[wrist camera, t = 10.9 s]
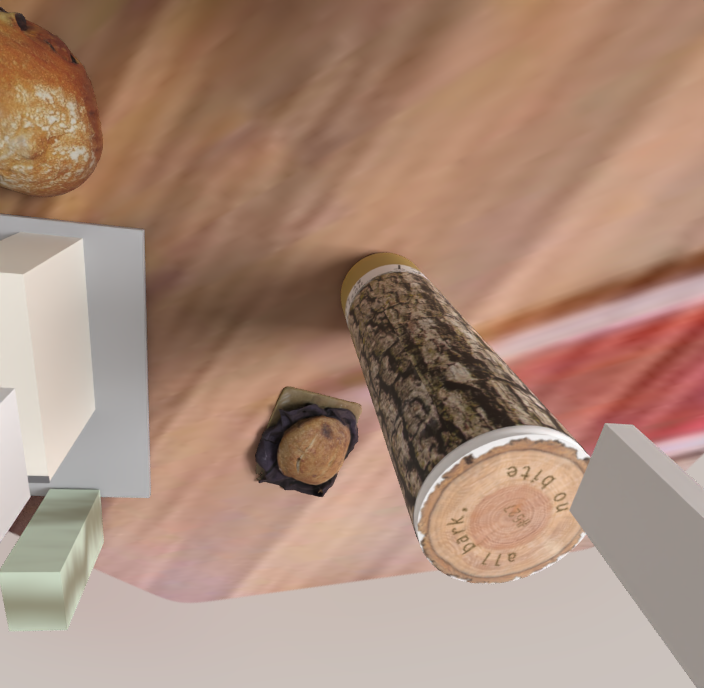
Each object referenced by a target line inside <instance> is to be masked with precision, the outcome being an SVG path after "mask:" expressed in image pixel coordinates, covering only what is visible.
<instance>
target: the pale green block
mask: <svg viewBox="0 0 704 688" xmlns="http://www.w3.org/2000/svg"><path fill="white" fill-rule="evenodd" d="M103 543H104V537H103V524H102V510H101V497H100V490H79V489H50V490H49V491H48V493H47V494H46V496H45V498H44V499H43V501H42V502H41V504H40V506H39V507H38V509H37V511H36V512H35V514H34V515H33V517H32V519H31V520H30V522H29V523H28V525H27V527H26V528H25V530H24V531H23V533H22V535H21V536H20V538H19V540H18V541H17V543H16V544H15V546H14V548H13V549H12V551H11V553H10V554H9V556H8V557H7V559H6V560H5V562H4V564H3V565H2V567H1V569H0V585H1V591H2V596H3V601H4V606H5V612H6V617H7V622H8V627H9V631H43V630H67V629H68V627H69V625H70V622H71V620H72V617H73V615H74V613H75V610H76V608H77V605H78V603H79V600H80V598H81V596H82V593H83V591H84V589H85V586H86V584H87V581H88V579H89V576H90V574H91V572H92V569H93V567H94V565H95V562H96V560H97V557H98V555H99V553H100V550H101V548H102V545H103Z"/></svg>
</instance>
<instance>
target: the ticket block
mask: <svg viewBox="0 0 704 688" xmlns="http://www.w3.org/2000/svg"><path fill="white" fill-rule="evenodd" d="M0 387H2V388H15V393H16V400H17V407H18V414H19V421H20V428H21V435H22V442H23V449H24V456H25V462H26V469H27V476H28V483H29V490H30V496H46V494H47V493H48V491H49V490H50V489H79V490H100V497H130V498H150V495H151V482H150V442H149V402H148V362H147V322H146V282H145V242H144V229H139V228H129V227H120V226H111V225H102V224H92V223H83V222H74V221H64V220H55V219H46V218H37V217H27V216H18V215H9V214H0Z"/></svg>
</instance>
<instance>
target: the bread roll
mask: <svg viewBox="0 0 704 688" xmlns="http://www.w3.org/2000/svg"><path fill="white" fill-rule="evenodd" d="M102 136H103V135H102V131H101V122H100V120H99V111H98V107H97V103H96V98H95V95H94V91H93V88H92V84H91V81H90V79H89V78H88V76H87V73H86V71H85V68H84V66H83V65H82V64H81V63H80V61H79V60H78V59H77V58H76V57H75V56H73V54H72V53H71V52H70V50H69V49H68V47H67V46H66V45H65V43H64V42H63V41H61V40H60V39H59V38H58V37H57V36H56V35H53V34H52V33H50V32H48V31H47V30H45V29H43V28H41V27H40V26H38V25H36V24H34V23H32V22H30V21H28V20H26V19H25V17H24V16H23V15H22V14H20V13H16V12H13V13H8V12H6V11H5V10H4V9H3V8H1V7H0V186H1V187H4V188H8V189H11V190H14V191H17V192H20V193H22V194H26V195H30V196H35V197H52V196H58V195H63V194H65V193H67V192H70V191H72V190H74V189H75V188H77V187H79V186H80V185H81V184H83V183H84V182H85V181H86V180H87V179H88V177H89V176H90V175H91V174H92V172H93V171H94V169H95V167H96V165H97V163H98V161H99V159H100V157H101V153H102V148H103V138H102Z"/></svg>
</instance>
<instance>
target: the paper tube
mask: <svg viewBox="0 0 704 688" xmlns="http://www.w3.org/2000/svg"><path fill="white" fill-rule="evenodd" d="M341 305H342V308H343V312H344V315H345V318H346V322H347V325H348V328H349V331H350V334H351V337H352V340H353V343H354V346H355V349H356V352H357V356H358V359H359V362H360V365H361V368H362V371H363V374H364V377H365V380H366V383H367V386H368V389H369V392H370V395H371V399H372V402H373V405H374V408H375V411H376V414H377V417H378V420H379V423H380V426H381V429H382V432H383V435H384V438H385V441H386V445H387V448H388V451H389V454H390V457H391V460H392V463H393V466H394V469H395V472H396V475H397V478H398V481H399V484H400V488H401V491H402V494H403V497H404V500H405V503H406V506H407V509H408V512H409V515H410V518H411V521H412V524H413V527H414V530H415V534H416V537H417V539H418V541H419V543H420V546H421V548H422V551H423V553H424V554H425V556H426V557H427V559H428V560H429V561H430V562H431V564H432V565H433V566H435V567H436V568H437V569H438V570H440V571H441V572H443V573H444V574H446V575H448V576H450V577H452V578H455V579H458V580H462V581H466V582H470V583H480V584H493V583H503V582H509V581H513V580H517V579H521V578H524V577H527V576H530V575H532V574H535V573H537V572H539V571H541V570H543V569H545V568H547V567H549V566H551V565H552V564H554V563H555V562H557V561H558V560H560V559H561V558H562V557H564V556H565V555H566V554H568V553H569V552H570V551H571V550H572V549H573V548H574V547H575V546H576V545H577V544H578V543H579V542H580V541H581V540H582V539H583V537H584V536H585V535H586V533H585V532H584V530H583V529H582V527H581V526H580V525H579V523H578V522H577V521H576V519H575V518H574V516H573V515H572V514H571V512H570V511H569V510H570V507H571V505H572V502H573V500H574V498H575V495H576V493H577V490H578V488H579V485H580V483H581V481H582V478H583V476H584V473H585V471H586V468H587V466H588V464H589V461H590V459H591V458H590V456H589V455H588V454H587V453H586V451H585V450H584V449H583V447H582V446H581V445H580V444H579V443H578V442H577V441H576V440H575V439H574V438H573V436H572V435H571V434H570V433H569V432H568V431H567V430H566V429H565V428H564V427H563V426H562V424H561V423H560V422H559V421H558V420H557V419H556V418H555V417H554V416H553V415H552V414H551V413H550V411H549V410H548V409H547V408H546V407H545V406H544V405H543V404H542V403H541V402H540V401H539V399H538V398H537V397H536V396H535V395H534V394H533V393H532V392H531V391H530V390H529V389H528V387H527V386H526V385H525V384H524V383H523V382H522V381H521V380H520V379H519V378H518V377H517V375H516V374H515V373H514V372H513V371H512V370H511V369H510V368H509V367H508V366H507V365H506V364H505V362H504V361H503V360H502V359H501V358H500V357H499V356H498V355H497V354H496V353H495V352H494V350H493V349H492V348H491V347H490V346H489V345H488V344H487V343H486V342H485V341H484V340H483V338H482V337H481V336H480V335H479V334H478V333H477V332H476V331H475V330H474V329H473V328H472V326H471V325H470V324H469V323H468V322H467V321H466V320H465V319H464V318H463V317H462V316H461V315H460V313H459V312H458V311H457V310H456V309H455V308H454V307H453V306H452V305H451V304H450V303H449V301H448V300H447V299H446V298H445V297H444V296H443V295H442V294H441V293H440V292H439V291H438V289H437V288H436V287H435V286H434V285H433V284H432V283H431V282H430V281H429V280H428V279H427V278H426V277H425V276H424V275H423V274H422V273H421V271H420V270H419V269H418V268H417V267H416V266H415V265H414V264H413V263H412V262H411V261H409V260H408V259H406V258H405V257H402V256H400V255H397V254H393V253H377V254H373V255H370V256H367V257H365V258H363V259H361V260H360V261H359V262H357V263H356V264H355V265H354V266H353V267H352V268H351V269H350V270H349V272H348V273H347V275H346V277H345V279H344V281H343V284H342V288H341Z"/></svg>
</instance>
